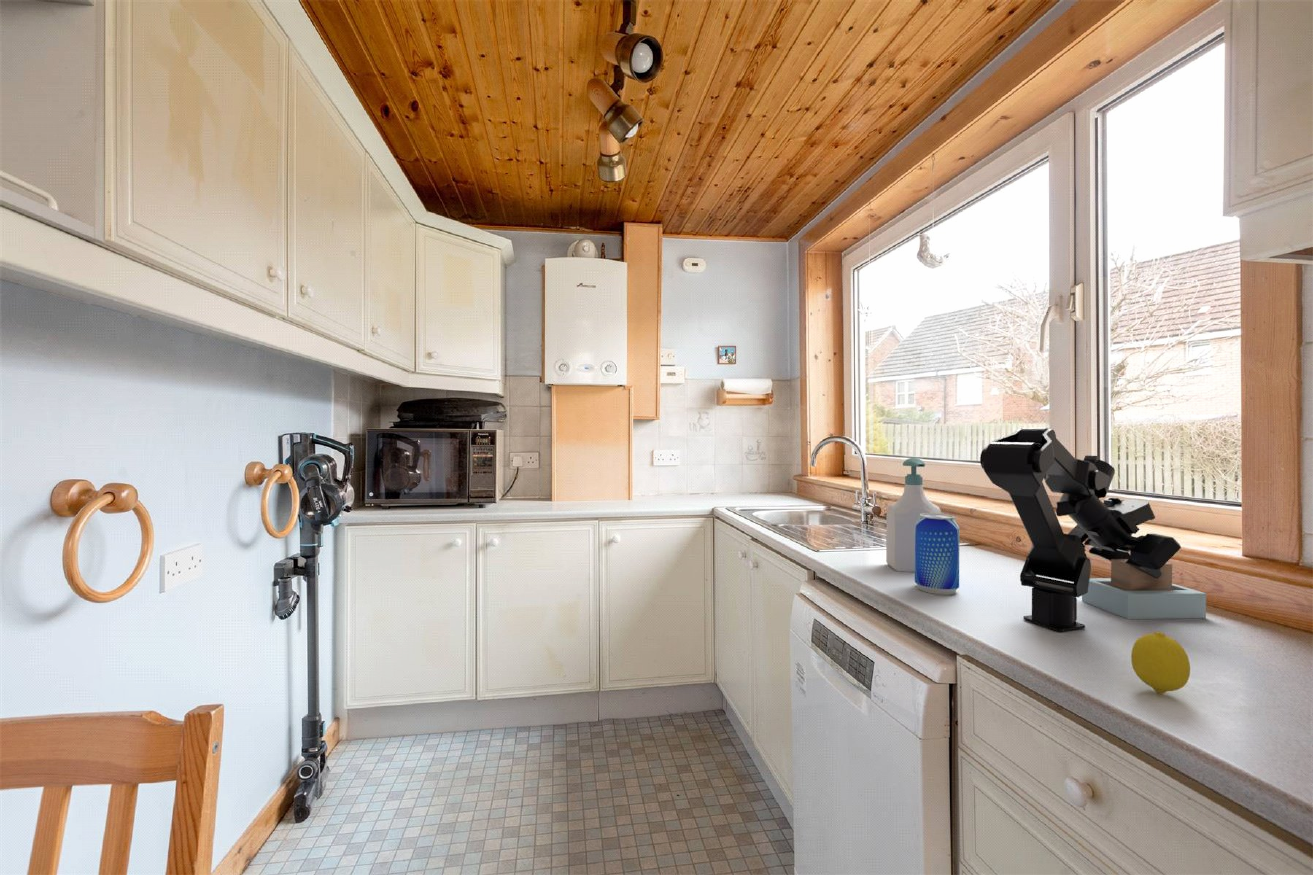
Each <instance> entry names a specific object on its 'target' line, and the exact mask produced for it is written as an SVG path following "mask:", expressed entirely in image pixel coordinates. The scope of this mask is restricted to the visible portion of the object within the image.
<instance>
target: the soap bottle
mask: <svg viewBox="0 0 1313 875" xmlns="http://www.w3.org/2000/svg"><path fill="white" fill-rule="evenodd" d="M903 466H904V467H910V473H907V474H906V475H905V476H904V483H905V484H904V489H903V493H902V495H901V496H900V497H899V498H898V499H897V500H896V501H895V502H893V503H892V504H889V505H888V506H887V510H886V519H885V520H886V526H885V527H886V538H885V540H886V545H885V546H886V555H885V556H886V564H887V565H889V567H891V568H892V569H893V570H895V571H896V572H914V573H915V524H916V522H917V521H918V519H919V518H920V514H923V513H938V514H942V510H941V508H940V507H939V506H938V505H936V504H934V503H933V502H931V501H930V500H929V499H928V498H927V496H926V494H925V492H924V486H923V485H924V484H923V476H922V475H921V474H920V473H919V474H918V473H917V468H924V467H925V466H926V464H925V461H923V460H922V459H920V458H917V457H910V458H906V459H905V460H904V461H903V462H902V467H903Z"/></svg>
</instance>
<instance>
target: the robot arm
mask: <svg viewBox="0 0 1313 875" xmlns="http://www.w3.org/2000/svg"><path fill="white" fill-rule="evenodd" d="M979 459H980V461H979V462H980V466H981V468H982V469H983V471H984V473H985V474H986V476H987V478H988V479H989V480H990V482H991V483H992V484H993V485H994V486H997V487H998V488H1000V489H1001V490H1003V491H1005V492H1006V493H1008V494H1009V496H1010V499H1011V501H1012V503H1013V505H1014V507H1015V509H1016V512H1017V515H1018V516H1019V518H1020V521H1021V523H1022V525H1023V527H1024V529H1025V531H1026V534H1027V535H1028V537H1029V540H1030V542H1031V547H1030V549H1029V551H1028V554H1027V556H1026V558H1025V562H1024V564H1023V566H1022V569H1021V572H1020V575H1019V578H1020V585H1021V586H1023V587H1029V588H1030V587H1031V614H1029V615H1024V616H1023V618H1022V619H1023V620H1025V621H1027V622H1030V623H1032V624H1036V625H1037V626H1041V627H1044V628H1046V629H1049V630H1053V631H1055V632H1067V631H1073V630H1074V631H1075V630H1080V629H1086V624H1084V623H1080V622H1079V621H1077V620H1078V614H1077V613H1078V606H1077V605H1078V602H1077V601H1078V600H1077V598H1080V597H1082V595H1084V594H1086V593H1088V586H1089V579H1090V576H1091V571H1092V563H1091V559H1090V557H1088V556H1087V553H1086V546H1087V547H1089V550H1088V553H1089V554H1091V555H1094V556H1095V557H1098V558H1101V559H1104V560H1106V561H1109V562H1110V563H1111V559H1128V560H1127V561H1126V562H1125V563H1127V564H1129V565H1131V566H1133V567H1135V568H1137V569H1139V570H1141V571H1143V572H1145V573H1147V574H1149V575H1151V576H1153V577H1155V578H1159V577H1160V576H1161V575H1162V573H1161V571H1160V569H1161V568H1162V567H1163V566H1164V565H1165V564H1166V563H1168V562H1169V561H1170V559H1172V558H1173V557H1174V555H1176V554H1177V552H1178V551H1179V550H1181V549H1182V546H1181V544H1180V543H1179V542H1178V541H1177V540H1176V539H1175V538H1174V537H1172V536H1167V535H1163V534H1157V533H1146V534H1145V535H1139V536H1133V534H1134V535H1136V534H1137V533H1138V532H1139V531H1140V528H1139V527H1138V526H1140V525H1142V524H1144V523H1146V522H1148V521H1153V520H1155V519H1156V515H1155V513H1154V512H1153V511H1154V510H1153V509H1152V507H1151V504H1150V503H1149V501H1147V500H1139V499H1138V500H1137V499H1131V498H1129V499H1125V498H1123V499H1120V498H1118V497H1113V496H1108V497H1107V498H1106V496H1107V495H1108V492H1109V489H1110V487H1111V484H1112V481H1113V479H1114V476H1115V473H1116V470H1115V467H1114V466H1112V465H1111V464H1110V463H1109V462H1106V461H1104V460H1102V459H1099V456H1098V455H1084V458H1083V459H1080V458H1075V457H1074V456H1073V455H1072V453H1071V452H1070V451H1069V450H1068V449H1067V448H1066V447H1065V445H1063V444H1062V442H1060V440H1059V439H1057V434H1056V432H1055V430H1054V429H1051V428H1048V427H1023V428H1020V429H1016V430H1015V431H1014V432H1013V433H1011V434H1007V435H1005V436H1003V437H999V438H996V439H994V440H992V441H991V442H990V443H988V445H986V446H985V447H984V448H983V449H982V450H981V453H980V457H979ZM1043 481H1044V482H1043ZM1044 483H1045V484H1046V487H1048V489H1049V490H1050V492H1052V493H1054V494H1055V493H1056V494H1061V496H1060V499H1059V501H1056V508H1055V509H1054V507H1053V504H1052V502H1051V499H1050V497H1049V495H1048V492H1047V490H1046V487H1045V485H1044ZM1101 499H1103V501H1102V500H1101ZM1063 516H1068V517H1070V519H1072V521H1074V523H1075V524H1076V525H1075V526H1074V527H1073V528H1072V529H1071V530H1070V531H1069V532H1068V533H1064V530H1063V528H1062V526H1061V523H1060V521H1059V519H1058V517H1063Z"/></svg>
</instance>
